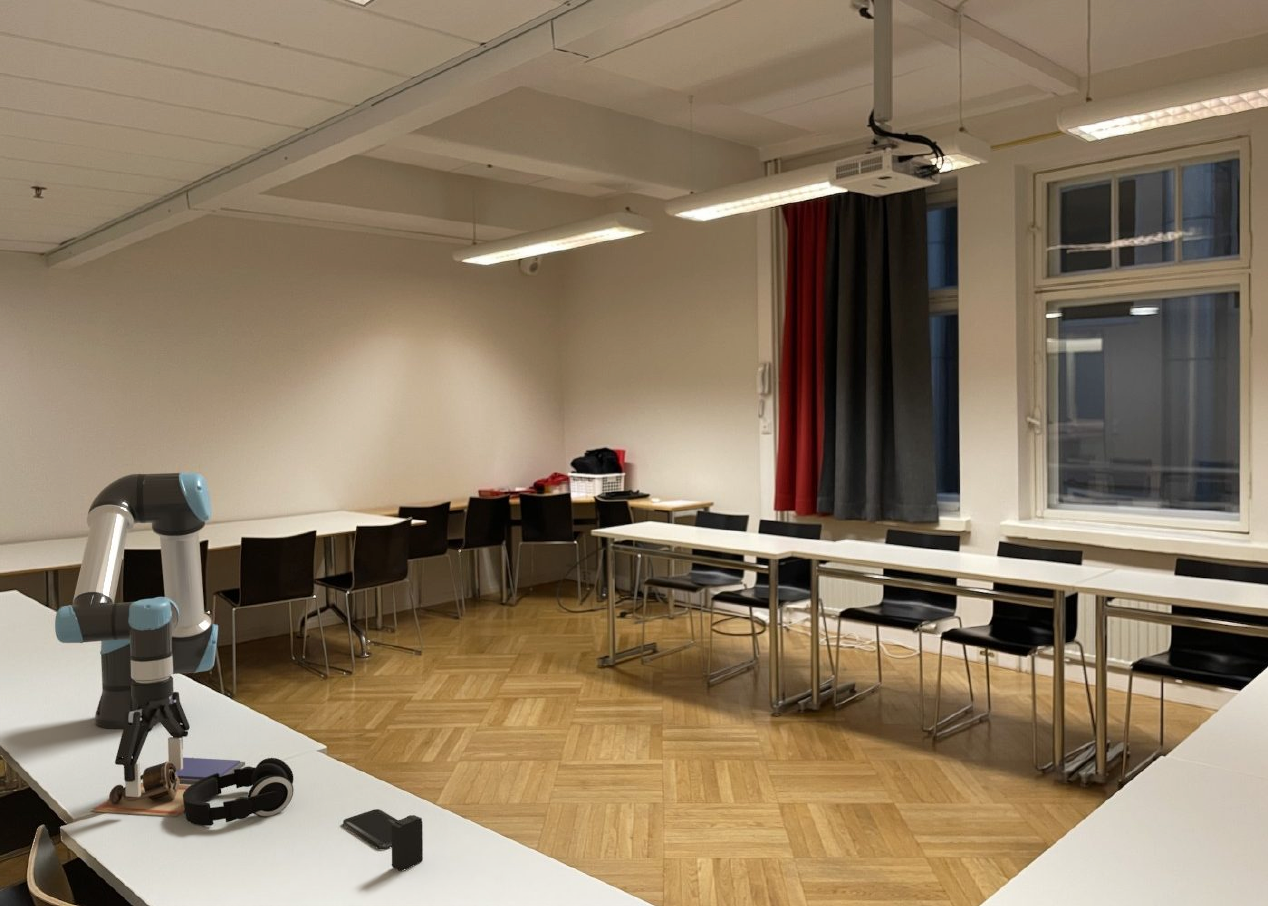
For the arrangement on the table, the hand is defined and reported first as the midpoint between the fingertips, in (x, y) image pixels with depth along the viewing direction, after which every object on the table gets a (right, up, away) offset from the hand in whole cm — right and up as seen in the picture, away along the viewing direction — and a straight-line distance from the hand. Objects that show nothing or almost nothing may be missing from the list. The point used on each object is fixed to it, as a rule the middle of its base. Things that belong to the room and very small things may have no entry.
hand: (155, 782), depth 194 cm
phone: (+49, -5, -14) cm, 51 cm away
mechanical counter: (-2, -4, 0) cm, 4 cm away
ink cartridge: (+57, -5, -27) cm, 63 cm away
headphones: (+18, -4, -4) cm, 19 cm away
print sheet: (0, -4, 0) cm, 4 cm away
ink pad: (+2, -3, +14) cm, 14 cm away
